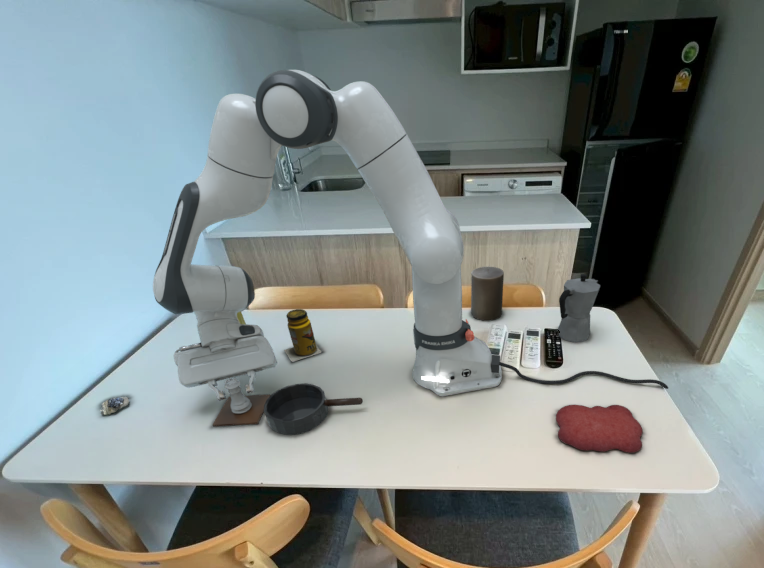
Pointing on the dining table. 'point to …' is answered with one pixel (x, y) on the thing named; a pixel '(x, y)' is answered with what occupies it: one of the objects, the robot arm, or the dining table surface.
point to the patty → (599, 428)
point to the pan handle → (343, 401)
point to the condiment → (300, 336)
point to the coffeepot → (577, 308)
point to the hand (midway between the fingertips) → (236, 395)
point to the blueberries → (114, 405)
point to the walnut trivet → (247, 418)
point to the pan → (296, 409)
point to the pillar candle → (487, 293)
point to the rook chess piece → (237, 397)
